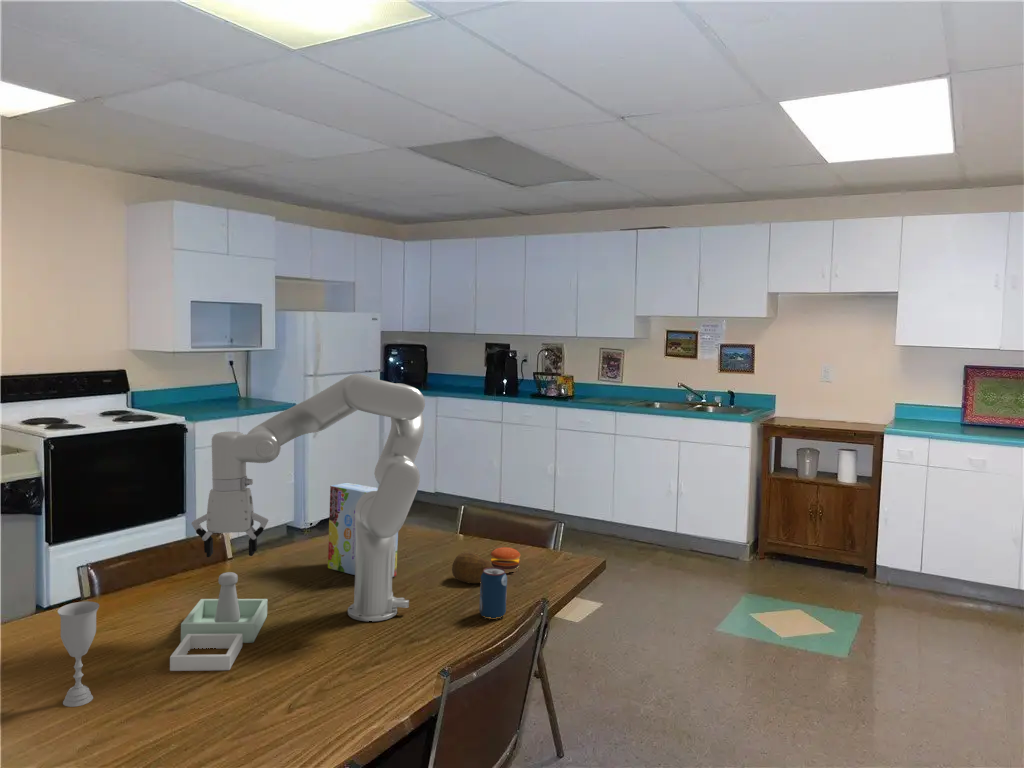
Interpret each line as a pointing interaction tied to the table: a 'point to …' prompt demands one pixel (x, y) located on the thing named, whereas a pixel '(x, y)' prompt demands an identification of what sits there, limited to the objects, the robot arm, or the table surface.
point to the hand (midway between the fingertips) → (230, 554)
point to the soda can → (493, 592)
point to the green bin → (204, 623)
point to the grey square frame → (206, 662)
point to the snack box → (347, 527)
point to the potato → (469, 567)
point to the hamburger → (505, 558)
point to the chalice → (78, 644)
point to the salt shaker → (227, 599)
